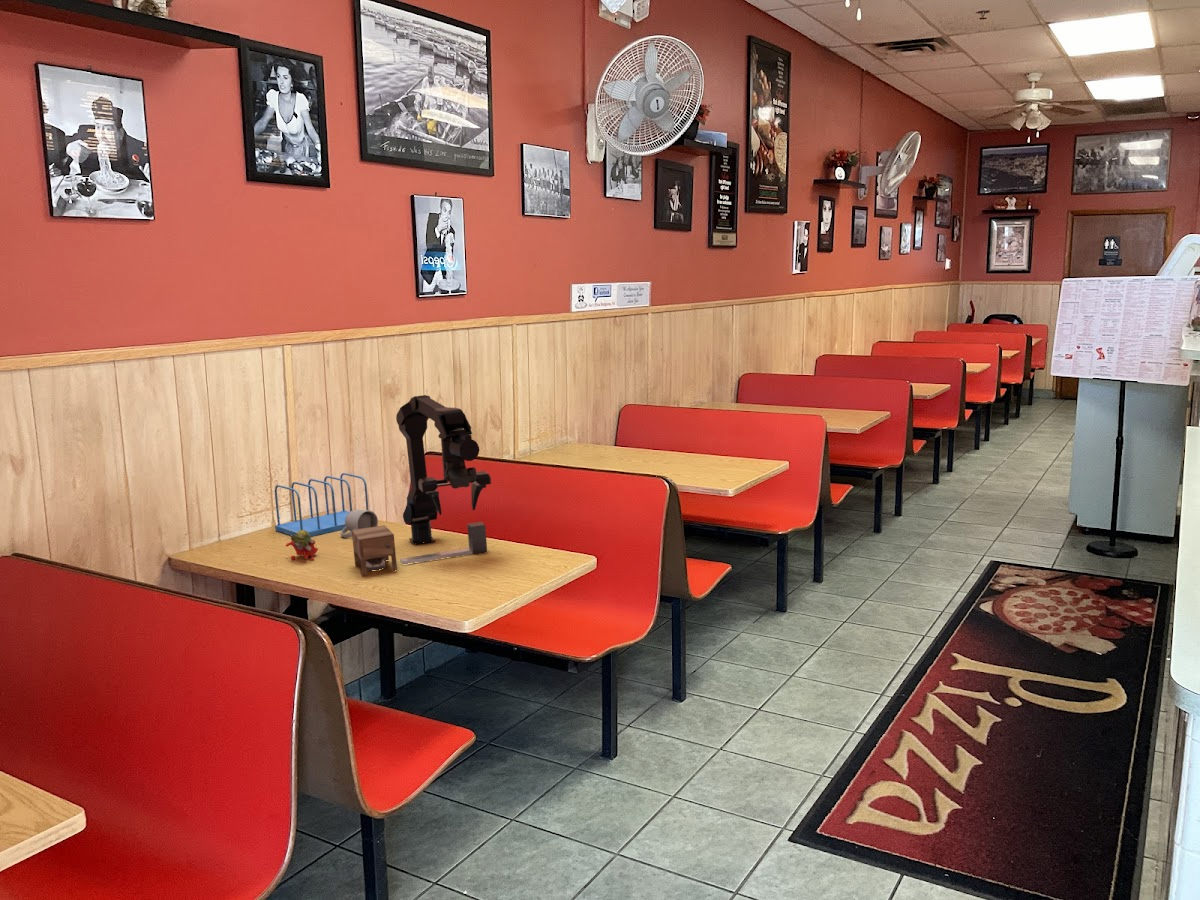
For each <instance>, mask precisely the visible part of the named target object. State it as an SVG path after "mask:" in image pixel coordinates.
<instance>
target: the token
mask: <svg viewBox="0 0 1200 900" xmlns="http://www.w3.org/2000/svg"><path fill="white" fill-rule="evenodd" d="M384 567H385V568H386V562H385V559H384V558H380V557H379V558H372V559H368V560H366V571H367V570H368V571H367V572H373V571H372V570H379V569H382V568H384Z"/></svg>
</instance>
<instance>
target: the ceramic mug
mask: <svg viewBox="0 0 1200 900" xmlns="http://www.w3.org/2000/svg"><path fill="white" fill-rule="evenodd" d="M345 525H346V527H345V528H343V529H341V530H340V533H339V534H340V535H341V537H342V538H343V537H344V538H343V539H349V538H351V537H352V530H355V529H362V528H369V527H376V526H379V519H378V516H377V514H376V513H375V512H374V511H373V510H369V509H368V510H366V509H354V510H353V509H352V511H351V512H350V511H349V513H348V514H347V516H346V519H345ZM348 531H349V532H348Z"/></svg>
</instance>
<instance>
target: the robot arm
mask: <svg viewBox="0 0 1200 900" xmlns="http://www.w3.org/2000/svg"><path fill="white" fill-rule="evenodd" d="M395 417H396V419H395V420H396V424H397V425H398V430H399V432H400V433H401V434H402V435H403V437H404V438H405V441H406V449H407V450H406V451H407V460H408V466H409V478H410V485H411V488H410V490H409V492H408V495H407V497H406V506H405V508H404V512H403V514H402V517H403V522H404V523H406V524H408V525H410V529H411V531H410V532H411V538H409V539H408V541H409V540H410V541H411V542H412V543H413V544H416V545H419V544H418V543H422V544H424V543H423V542H429V543H432V542H431V541H435V542H436V539H435V538H434V537H433V536H432V525H431V521H434V520H438V519H437V518H438V515H440V516H442V506H441V502H440V492H439V491H438V488H439V487H448V486H451V488H453V489H459V488H469V487H470V488H471V491H470V492H471V494H470V495H471V509H472V511H475V510H476V507H477V505H478V504H477V503H478V500H479V496H480V495H481V492H482V491H483V489H485V488H487V485H492V477H491V475H490V474H489V473H488V472H486V471H485V470H481V471H477V469H476V467H475V466H473V467H466V462H465V461H467V462H471V461H474V460H476V458H477V457H478V456H479V454H480V446H479V443H477V441H476V440H474V439H472V438H473V437H472V435H473V432H472V427H471V425H470V423H469V422H470V421H469V420H468V419H467V416H466V414H465V412H464V411H463V410H462V409H461V408H459V407H446V406H444V405H443V404H441V403H439V402H438V401H437V400H434V399H432V398H431V396H429V395H427V394H423V395H414V396H412V397H411V398H410V399H409V401H408V402H406V403H405V404H403V405H402V406H401V407H400V408H399V409H398V411H397V413H396V416H395ZM429 419H430V420H431V421H433V422H434V427H435V428H436V430H438V432H439V433H438V438H439V439H440V443H441V444H440V445H441V456H442V459H441V460H442V462H441V463H442V470H443V473H442V475H443V478H442V479H436V478H434V476H431V477H430V476H429V477H428V473H427V472H428V471H427V464H426V456H425V455H426V454H425V445H424V444H425V443H424V436H425V433H426V432H427V429H428V421H429ZM470 485H471V486H470ZM410 541H409V542H410ZM411 542H410V543H411ZM412 543H411V544H412ZM413 544H412V545H413Z"/></svg>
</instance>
